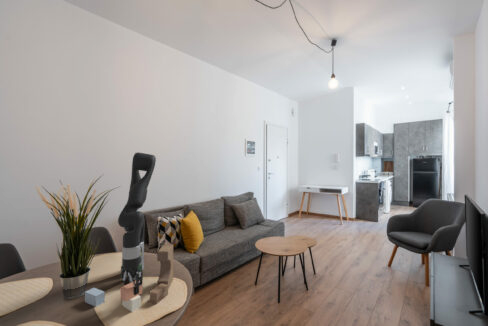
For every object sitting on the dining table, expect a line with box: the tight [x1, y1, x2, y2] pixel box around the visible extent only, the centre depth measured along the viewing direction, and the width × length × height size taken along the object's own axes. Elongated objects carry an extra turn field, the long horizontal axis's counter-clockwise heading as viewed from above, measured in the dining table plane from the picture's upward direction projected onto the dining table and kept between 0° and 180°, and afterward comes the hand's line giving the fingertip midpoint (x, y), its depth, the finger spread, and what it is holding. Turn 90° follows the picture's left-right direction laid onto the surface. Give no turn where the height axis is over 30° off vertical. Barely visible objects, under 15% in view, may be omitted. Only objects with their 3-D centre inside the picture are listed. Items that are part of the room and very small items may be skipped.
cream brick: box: [121, 295, 142, 313], centre depth 104 cm, size 8×4×5 cm, turn 57°
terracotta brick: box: [120, 281, 143, 302], centre depth 104 cm, size 8×4×5 cm, turn 145°
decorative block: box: [156, 243, 174, 290], centre depth 122 cm, size 11×6×20 cm, turn 2°
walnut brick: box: [149, 283, 169, 305], centre depth 110 cm, size 8×4×5 cm, turn 161°
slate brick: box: [84, 287, 106, 307], centre depth 107 cm, size 8×4×5 cm, turn 66°
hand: (131, 291), depth 104 cm, fingers open, 7 cm apart
